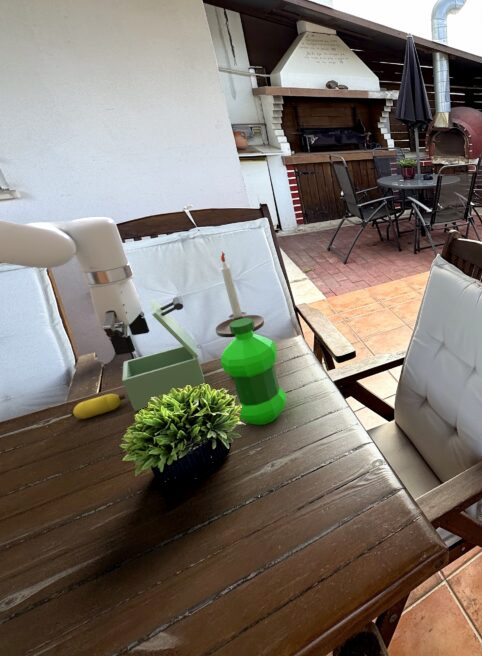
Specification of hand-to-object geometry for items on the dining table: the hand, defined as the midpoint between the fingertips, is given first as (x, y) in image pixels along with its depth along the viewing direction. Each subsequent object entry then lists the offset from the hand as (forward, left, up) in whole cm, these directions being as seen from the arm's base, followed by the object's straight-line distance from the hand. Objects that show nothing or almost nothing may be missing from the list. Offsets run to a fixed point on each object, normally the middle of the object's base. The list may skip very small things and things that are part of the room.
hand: (133, 342), depth 93 cm
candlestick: (+20, +6, -17) cm, 27 cm away
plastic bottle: (+25, -18, -17) cm, 35 cm away
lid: (+6, +6, -1) cm, 8 cm away
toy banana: (-11, +1, -17) cm, 20 cm away
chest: (+2, +5, -17) cm, 18 cm away
